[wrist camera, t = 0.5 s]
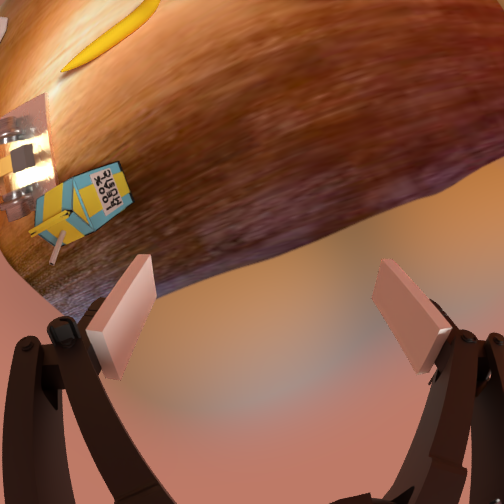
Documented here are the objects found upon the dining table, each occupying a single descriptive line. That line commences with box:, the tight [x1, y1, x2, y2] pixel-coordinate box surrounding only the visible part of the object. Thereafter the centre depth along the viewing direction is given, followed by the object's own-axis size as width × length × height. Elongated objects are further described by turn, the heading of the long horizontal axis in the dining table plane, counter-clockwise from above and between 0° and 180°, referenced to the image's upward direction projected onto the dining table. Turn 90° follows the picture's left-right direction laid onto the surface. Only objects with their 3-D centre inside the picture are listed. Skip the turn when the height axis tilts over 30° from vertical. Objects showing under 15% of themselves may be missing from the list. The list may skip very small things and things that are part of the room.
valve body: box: [0, 93, 59, 222], centre depth 32 cm, size 20×13×10 cm, turn 5°
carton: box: [28, 161, 135, 265], centre depth 32 cm, size 7×8×18 cm
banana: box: [61, 0, 160, 72], centre depth 27 cm, size 3×19×6 cm, turn 121°
